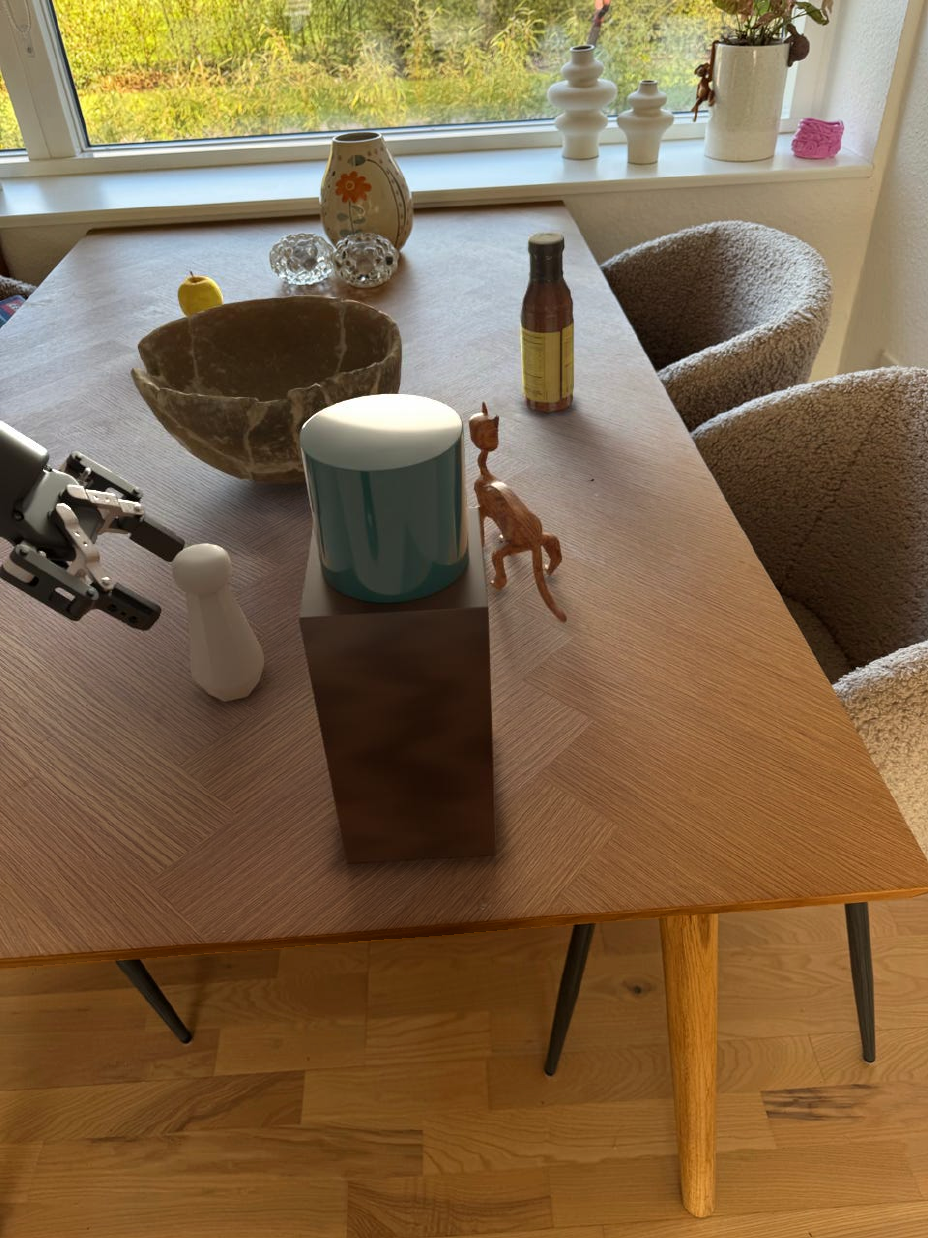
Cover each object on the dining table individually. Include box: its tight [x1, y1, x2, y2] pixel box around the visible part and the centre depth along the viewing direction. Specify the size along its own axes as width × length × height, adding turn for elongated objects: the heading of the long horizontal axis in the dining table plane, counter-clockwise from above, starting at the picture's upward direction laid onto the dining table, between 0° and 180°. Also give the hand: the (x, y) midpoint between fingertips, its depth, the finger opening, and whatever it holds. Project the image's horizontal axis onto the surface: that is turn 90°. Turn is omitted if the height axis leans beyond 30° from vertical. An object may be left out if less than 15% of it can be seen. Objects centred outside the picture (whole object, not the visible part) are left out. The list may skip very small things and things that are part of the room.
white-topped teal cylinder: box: [299, 393, 469, 603], centre depth 51 cm, size 11×8×8 cm
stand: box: [297, 506, 497, 864], centre depth 59 cm, size 10×10×21 cm
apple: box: [177, 270, 224, 317], centre depth 135 cm, size 6×6×8 cm
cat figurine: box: [468, 401, 568, 623], centre depth 81 cm, size 18×7×14 cm, turn 24°
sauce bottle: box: [519, 231, 575, 414], centre depth 107 cm, size 6×6×20 cm
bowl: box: [130, 294, 403, 485], centre depth 99 cm, size 28×27×15 cm
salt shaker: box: [171, 543, 265, 703], centre depth 72 cm, size 6×6×13 cm
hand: (167, 585), depth 69 cm, fingers open, 8 cm apart
